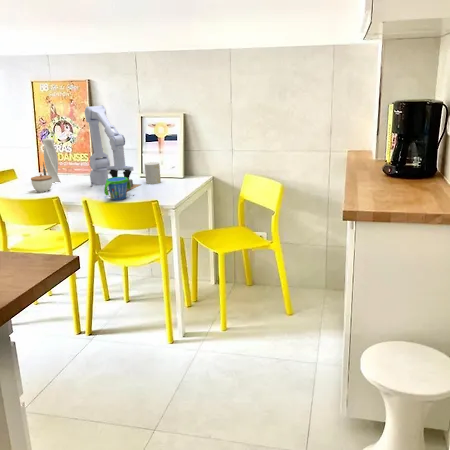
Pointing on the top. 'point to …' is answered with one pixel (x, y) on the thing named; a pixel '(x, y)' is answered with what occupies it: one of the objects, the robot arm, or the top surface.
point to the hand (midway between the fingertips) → (121, 183)
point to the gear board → (133, 187)
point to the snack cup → (117, 187)
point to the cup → (152, 173)
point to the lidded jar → (42, 182)
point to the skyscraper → (50, 159)
